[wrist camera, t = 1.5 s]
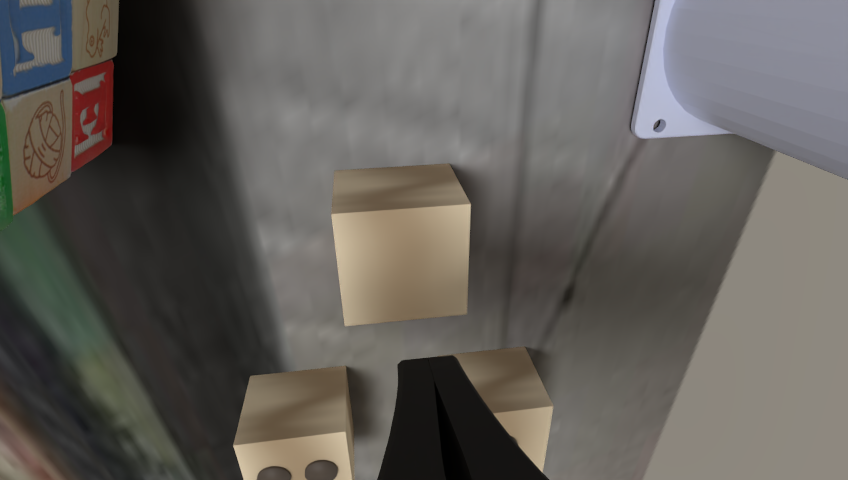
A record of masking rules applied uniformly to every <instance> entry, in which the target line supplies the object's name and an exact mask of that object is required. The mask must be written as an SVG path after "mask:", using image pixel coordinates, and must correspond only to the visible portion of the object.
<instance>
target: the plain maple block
mask: <svg viewBox="0 0 848 480" xmlns="http://www.w3.org/2000/svg"><path fill="white" fill-rule="evenodd" d="M470 214H471V203H470V202H469V200H468V198H467V196H466V194H465V192H464V190H463V188H462V187H461V185H460V183H459V181H458V179H457V177H456V175H455V174H454V172H453V170H452V168H451V166H450V164H434V165H418V166H402V167H386V168H369V169H353V170H337V171H335V172H334V185H333V199H332V213H331V215H332V223H333V232H334V240H335V248H336V257H337V265H338V273H339V282H340V290H341V298H342V307H343V315H344V323H345V326H352V325H362V324H373V323H383V322H393V321H403V320H414V319H424V318H434V317H444V316H455V315H465V314H467V297H468V269H469V241H470Z"/></svg>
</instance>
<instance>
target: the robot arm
mask: <svg viewBox="0 0 848 480" xmlns="http://www.w3.org/2000/svg"><path fill="white" fill-rule="evenodd" d="M657 120H660V125H659V126H658V127H657V128H656V129H654V130H653V126H654V123H655V122H656V121H657ZM631 131H632V133H633V134H634V135H636V136H637V137H639V138H643V139H648V138H665V137H682V136H699V135H716V134H733V133H734V134H736V135H739V136H741V137H744V138H746V139H749V140H751V141H754V142H756V143H759V144H761V145H764V146H766V147H769V148H771V149H773V150H776V151H778V152H781V153H783V154H786V155H788V156H791V157H793V158H796V159H798V160H801V161H803V162H806V163H808V164H810V165H813V166H815V167H818V168H820V169H823V170H825V171H828V172H830V173H833V174H835V175H838V176H840V177H842V178H845V179H848V0H655V4H654V10H653V15H652V20H651V25H650V30H649V35H648V40H647V45H646V51H645V56H644V61H643V66H642V71H641V76H640V81H639V87H638V92H637V97H636V102H635V107H634V112H633V117H632V122H631ZM377 480H549V479H548V478H547V477H546V476H545V475H544V474H543V473H542V472H541V471H540V469H539V468H538V467H537V466H536V465H535V464H534V463H533V462H532V461H531V460H530V458H529V457H528V456H527V455H526V454H525V453H524V452H523V450H522V449H521V448H520V447H519V446H518V444H517V443H516V442H515V441H514V440H513V439H512V437H511V436H510V435H509V434H508V432H507V431H506V430H505V429H504V427H503V426H502V425H501V423H500V422H499V421H498V419H497V418H496V417H495V415H494V414H493V413H492V411H491V410H490V409H489V408H488V406H487V405H486V403H485V402H484V401H483V399H482V398H481V396H480V395H479V393H478V392H477V390H476V389H475V387H474V386H473V384H472V383H471V381H470V380H469V378H468V376H467V375H466V373H465V372H464V370H463V368H462V366H461V365H460V363H459V361H458V359H457V358H456V357H455V356H453V355H448V356H439V357H430V358H420V359H411V360H402V361H401V362H400V363H399V364H398V391H397V399H396V406H395V411H394V416H393V421H392V426H391V431H390V436H389V440H388V444H387V447H386V451H385V455H384V458H383V462H382V465H381V469H380V473H379V476H378V479H377Z"/></svg>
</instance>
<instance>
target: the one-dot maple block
mask: <svg viewBox="0 0 848 480" xmlns="http://www.w3.org/2000/svg"><path fill="white" fill-rule="evenodd" d="M451 355H453V356H455V357H456V358H457V359H458V361H459V363H460V365H461V366H462V368H463V370H464V372H465V373H466V375H467V376H468V378H469V380H470V381H471V383H472V384H473V386H474V387H475V389H476V390H477V392H478V393H479V395H480V396H481V398H482V399H483V401H484V402H485V403H486V405H487V406H488V408H489V409H490V410H491V411H492V413H493V414H494V415H495V417H496V418H497V419H498V421H499V422H500V423H501V425H502V426H503V427H504V429H505V430H506V431H507V432H508V434H509V435H510V436H511V437H512V439H513V440H514V441H515V442H516V443H517V444H518V446H519V447H520V448H521V449H522V450H523V452H524V453H525V454H526V455H527V456H528V457H529V458H530V460H531V461H532V462H533V463H534V464H535V465H536V466H537V467H538V468H539V469H540V471H541V472H543V467H544V460H545V454H546V448H547V442H548V436H549V430H550V424H551V417H552V411H553V404H552V402H551V400H550V398H549V396H548V394H547V392H546V390H545V388H544V385H543V383H542V381H541V379H540V377H539V375H538V373H537V371H536V369H535V367H534V365H533V363H532V360H531V358H530V356H529V354H528V352H527V350H526V348H525V347H516V348H507V349H497V350H488V351H479V352H469V353H460V354H451ZM441 356H448V355H441ZM437 357H439V356H437Z"/></svg>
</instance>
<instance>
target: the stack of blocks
mask: <svg viewBox="0 0 848 480" xmlns="http://www.w3.org/2000/svg"><path fill="white" fill-rule="evenodd" d="M118 15H119V0H0V232H1V231H2V230H3V229H5V228H6V227H8V226H9V224H10V223H11V222H12V221H13V215H15V214H17V213H18V212H20V211H22V210H23V209H25V208H26V207H28V206H29V205H31V204H33V203H34V202H35V201H37V200H38V199H39V198H40V197H42V196H43V195H45V194H46V193H48V192H49V191H51V190H52V189H54V188H55V187H56V186H57V185H59V184H60V183H62V182H64V181H65V180H67V179H68V178H69V177H70V174H71V172H74V171H75V170H77V169H78V168H80V167H82V166H83V165H84V164H86V163H88V162H89V161H91V160H92V159H94V158H95V157H97V156H98V155H99V154H101V153H102V152H103V151H105V150H106V149H107V148H108V147H110V146H111V145H112V120H113V69H114V64H113V61H112V58H113V57H115V56H116V54H117V43H118Z"/></svg>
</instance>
